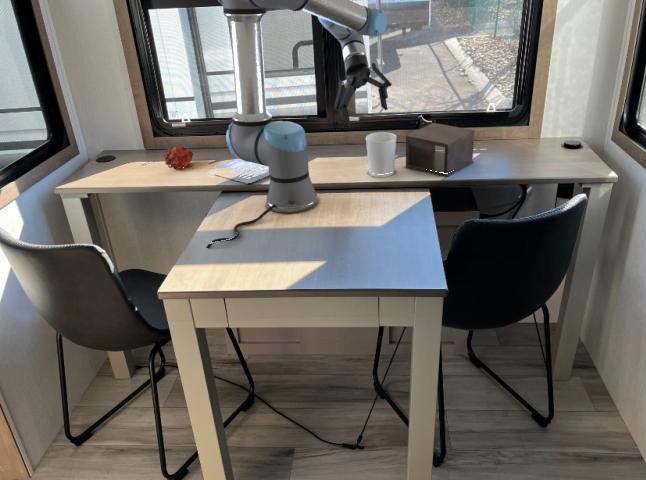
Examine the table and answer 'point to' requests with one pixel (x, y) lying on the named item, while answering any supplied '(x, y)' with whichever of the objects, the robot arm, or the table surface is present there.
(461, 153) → the dark brown cubby box
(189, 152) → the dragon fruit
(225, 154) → the table surface
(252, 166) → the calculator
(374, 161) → the candle holder
